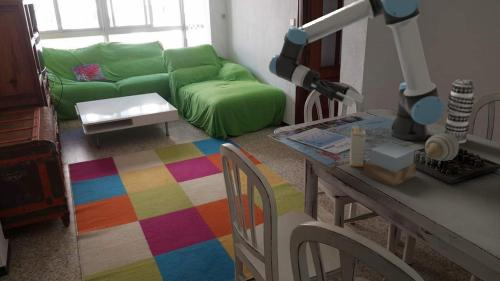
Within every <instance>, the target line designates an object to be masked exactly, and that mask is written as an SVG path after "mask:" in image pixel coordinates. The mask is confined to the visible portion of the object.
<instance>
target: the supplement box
mask: <svg viewBox="0 0 500 281" xmlns="http://www.w3.org/2000/svg"><path fill="white" fill-rule="evenodd" d="M366 136H367V132H366V130H365V126H363V125H351V130H350V144H349V145H350V146H349V164H350V167H354V168H355V167H356V168H357V167H359V168H364V162H365V160H364V159H365V151H366V150H365V147H366Z"/></svg>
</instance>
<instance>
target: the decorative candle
mask: <svg viewBox="0 0 500 281" xmlns="http://www.w3.org/2000/svg"><path fill="white" fill-rule="evenodd" d="M451 85H452V87H451V91H450V93H449V94H448V101H447V102H448V103H447V110H446V111H447V113H448V114H447V118H446V122H445V126H444V132H443V133H448V134H451V135H453V136H455V137H456V138H457V140H458V142H459V144H465V143H466V142H467V139H468V131H469V127H470V125H469V117H470V115H471V113H472V110H471V109H473V107H472V106H471V105H474V102H473V101H474V100H475V98H474V90H475V89H474V87H475V86H476V84H475V83H474V81H472V80H471V79H464V78H463V79H461V78H460V79H456V80H455V81H453V82H452V83H451Z"/></svg>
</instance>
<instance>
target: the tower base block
mask: <svg viewBox="0 0 500 281" xmlns="http://www.w3.org/2000/svg"><path fill="white" fill-rule="evenodd" d="M416 168H417V163H415V162H413V164H412V165H410V166H408V167H406V168H403V169H401V170H399V171H397V172H393V171H390V170H387V169H385V168H382V167H380V166H377V165H374V164H372V163H370V159H369V160H366V161H364V164H363V175H364V176H366V177H369V178H371V179H373V180H376V181H379V182H381V183H383V184H386V185H388V186H390V187H396V186H398V185H399V184H402V183H403V182H406V181H407V180H410V179H412V178H414V177H415V176H416Z"/></svg>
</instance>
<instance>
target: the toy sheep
mask: <svg viewBox="0 0 500 281" xmlns="http://www.w3.org/2000/svg"><path fill="white" fill-rule="evenodd" d="M459 149H460V143H459V142H458V140H457V138H456V137H455V136H453V135H451V134H448V133H444V132H441V133H435V134H433V135H431V136H430V137H429V138H428V139H427V140H426V142H425V145H424V151H425V154H426V157H427V156H428V157H429V158H432V159H434V158H435V159H439V160H452V161H453V159H454V158H456V157H457V155H458V153H459ZM432 159H431V160H432Z"/></svg>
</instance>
